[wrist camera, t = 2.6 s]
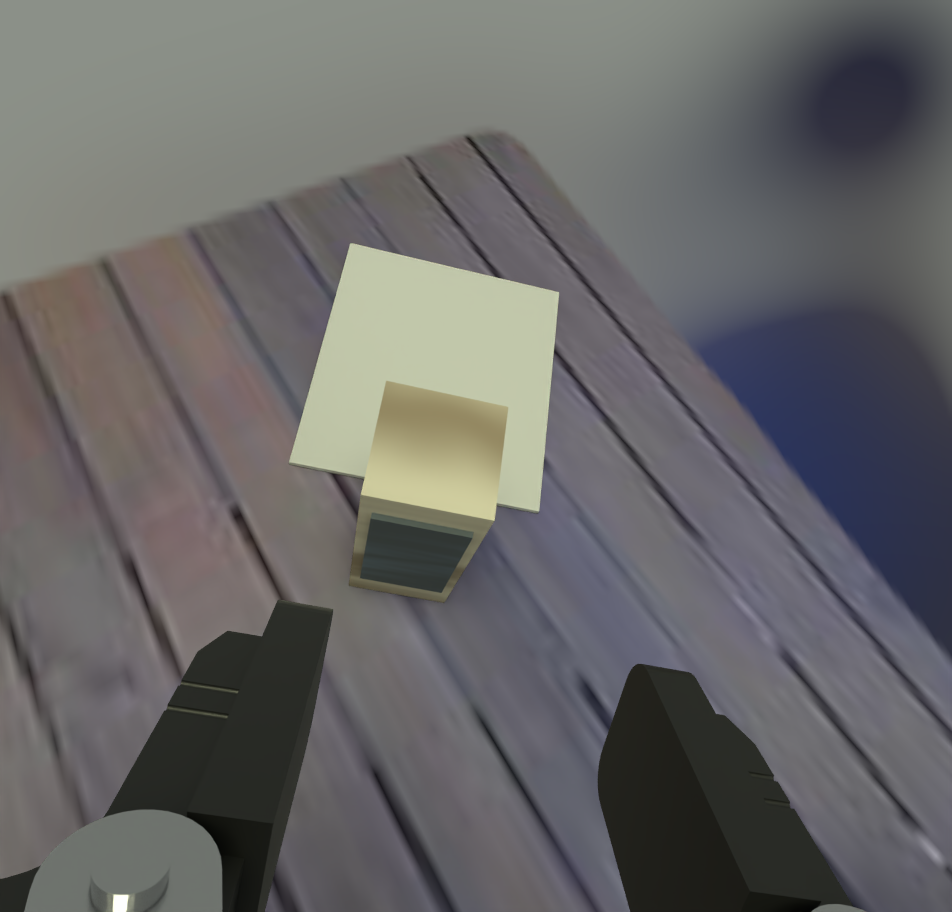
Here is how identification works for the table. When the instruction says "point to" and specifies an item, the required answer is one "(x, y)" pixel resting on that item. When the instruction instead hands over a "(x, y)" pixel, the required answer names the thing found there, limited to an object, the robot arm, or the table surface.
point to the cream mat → (431, 361)
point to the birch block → (427, 491)
